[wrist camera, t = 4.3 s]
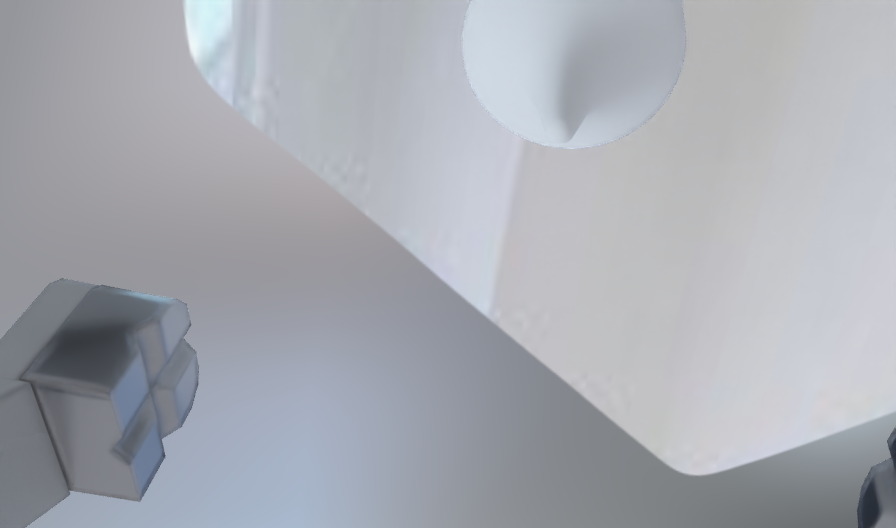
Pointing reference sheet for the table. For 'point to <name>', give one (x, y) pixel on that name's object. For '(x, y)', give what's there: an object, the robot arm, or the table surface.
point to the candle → (573, 65)
